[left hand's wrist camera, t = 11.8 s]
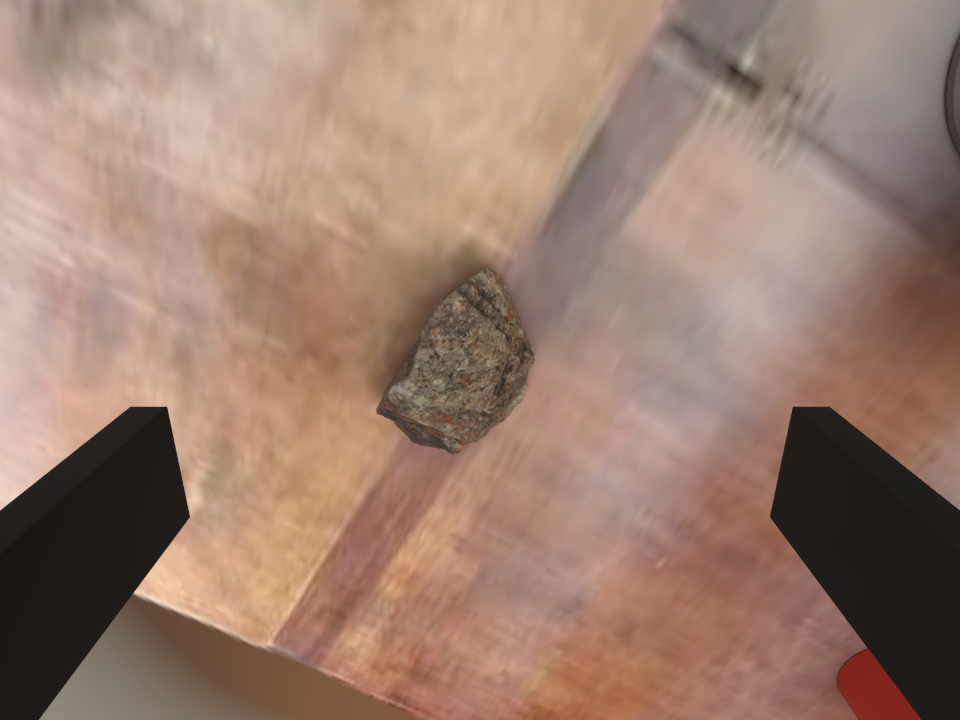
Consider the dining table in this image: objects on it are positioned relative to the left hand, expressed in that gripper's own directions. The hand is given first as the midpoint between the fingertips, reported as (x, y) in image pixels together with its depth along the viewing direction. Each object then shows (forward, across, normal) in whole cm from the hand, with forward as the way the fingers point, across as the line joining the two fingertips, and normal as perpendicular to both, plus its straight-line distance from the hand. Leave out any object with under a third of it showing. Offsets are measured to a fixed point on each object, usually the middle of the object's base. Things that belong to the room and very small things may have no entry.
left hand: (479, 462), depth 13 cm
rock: (+30, -1, -9) cm, 31 cm away
